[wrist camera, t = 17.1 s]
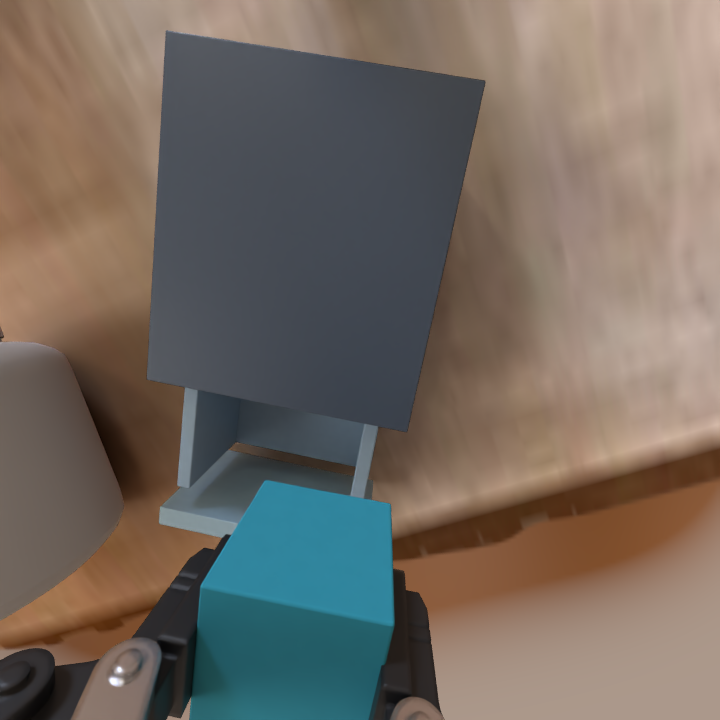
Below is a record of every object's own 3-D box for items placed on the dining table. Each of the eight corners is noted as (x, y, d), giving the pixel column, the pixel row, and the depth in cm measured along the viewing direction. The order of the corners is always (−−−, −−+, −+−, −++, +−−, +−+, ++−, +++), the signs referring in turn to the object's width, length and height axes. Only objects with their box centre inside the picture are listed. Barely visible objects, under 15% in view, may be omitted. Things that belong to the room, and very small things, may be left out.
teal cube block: (252, 584, 13) (186, 731, 9) (264, 478, 12) (198, 585, 8) (369, 608, 13) (361, 769, 9) (391, 502, 12) (395, 624, 8)
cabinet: (400, 382, 27) (407, 432, 18) (229, 348, 28) (146, 379, 18) (447, 163, 24) (486, 80, 15) (252, 130, 25) (165, 29, 15)
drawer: (359, 545, 29) (349, 636, 22) (214, 513, 30) (153, 591, 22) (408, 313, 25) (416, 324, 18) (238, 282, 26) (174, 279, 18)
